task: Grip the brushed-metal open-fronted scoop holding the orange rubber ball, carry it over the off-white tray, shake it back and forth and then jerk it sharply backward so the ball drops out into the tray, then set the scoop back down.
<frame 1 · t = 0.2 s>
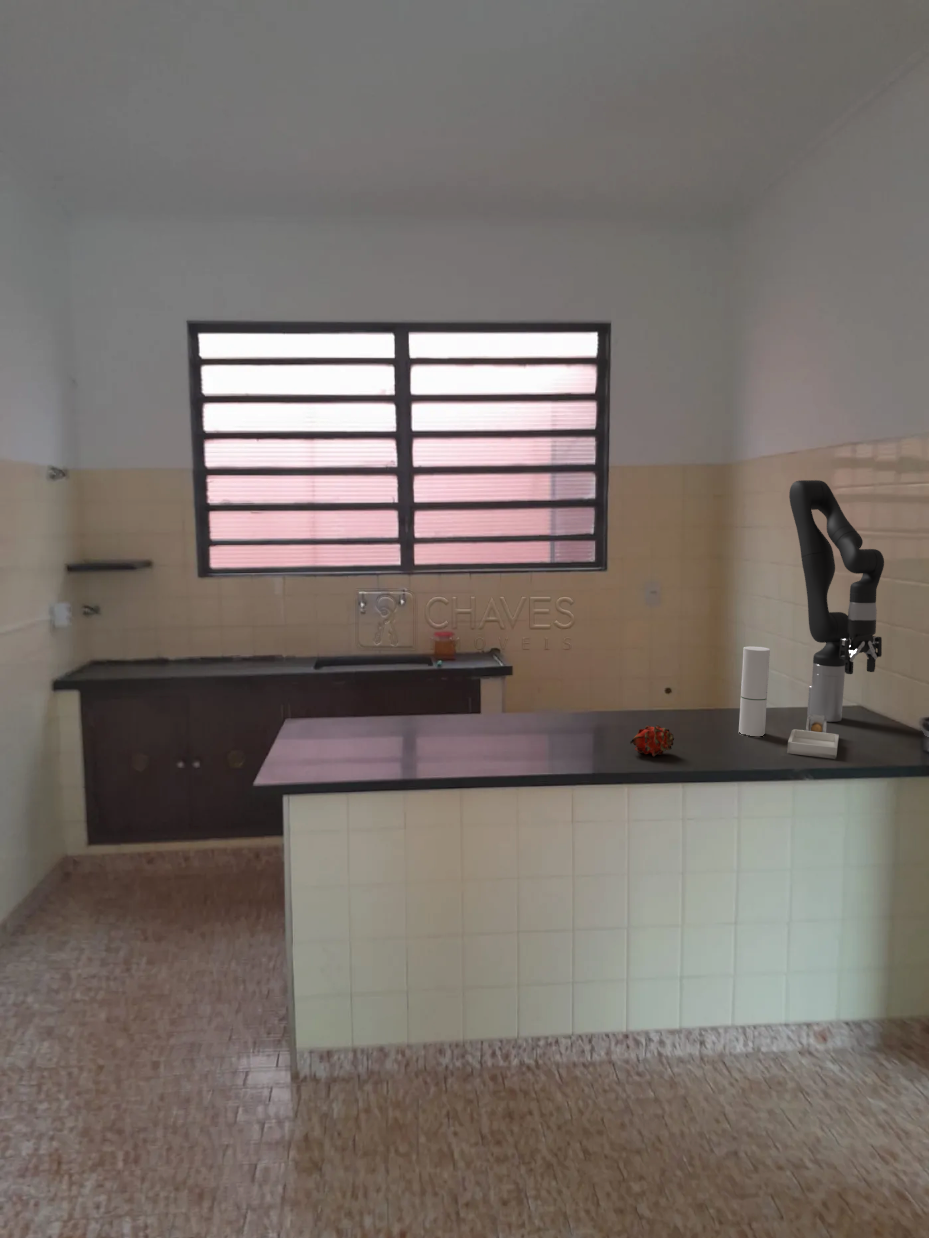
hand: (859, 672, 253), 17 cm above the countertop, tool pointing down, fingers open, 8 cm apart
cylindrical container: (751, 734, 249), on the countertop
tray: (813, 748, 235), on the countertop
scoop: (815, 738, 246), on the countertop, touching ball
ball: (816, 729, 248), point 2 cm above the countertop, touching scoop
dragon fruit: (651, 755, 228), on the countertop
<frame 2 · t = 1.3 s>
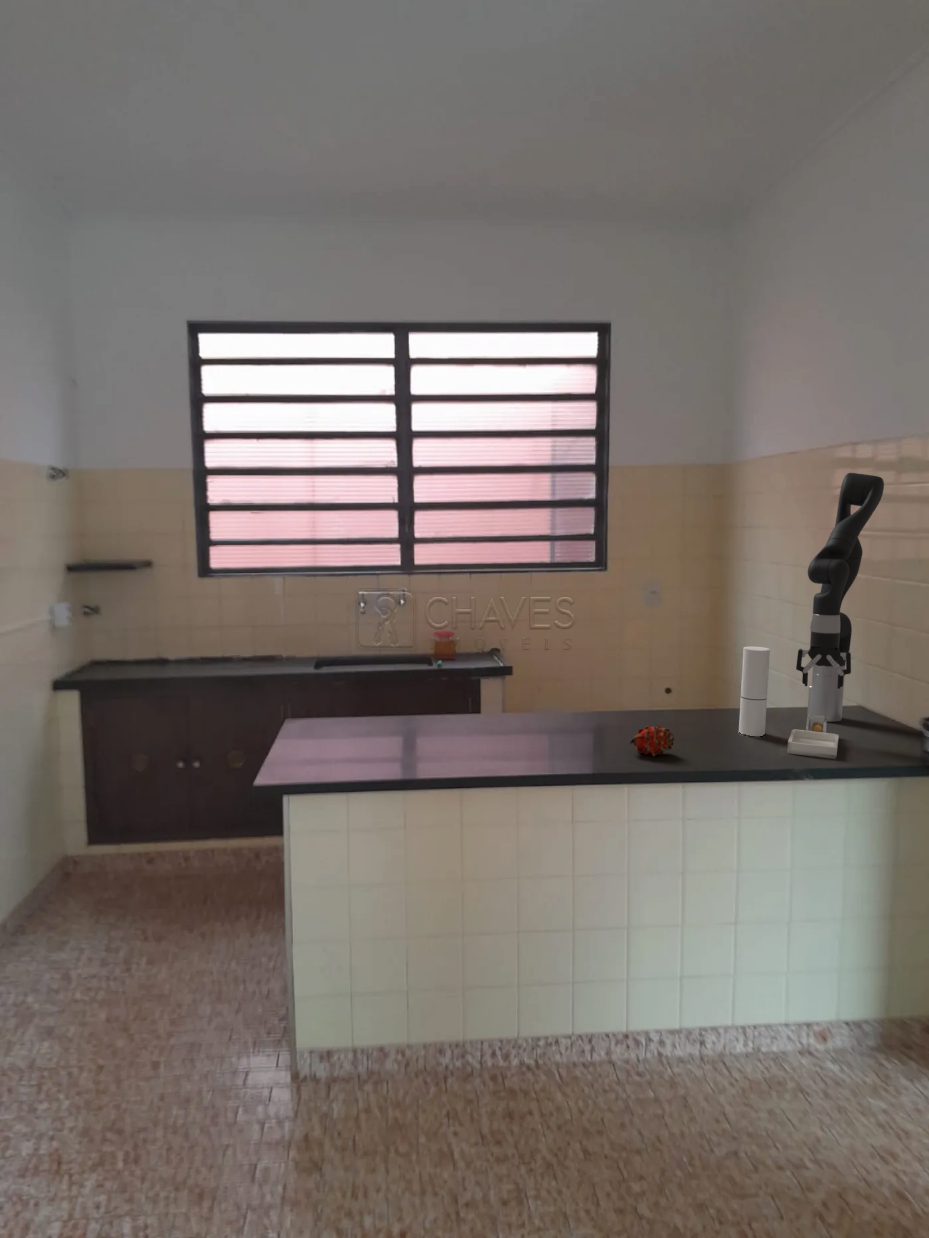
hand: (822, 687, 244), 15 cm above the countertop, tool pointing down, fingers open, 8 cm apart
ball: (817, 729, 247), point 2 cm above the countertop, tilted 7°, touching scoop
everything else where it was.
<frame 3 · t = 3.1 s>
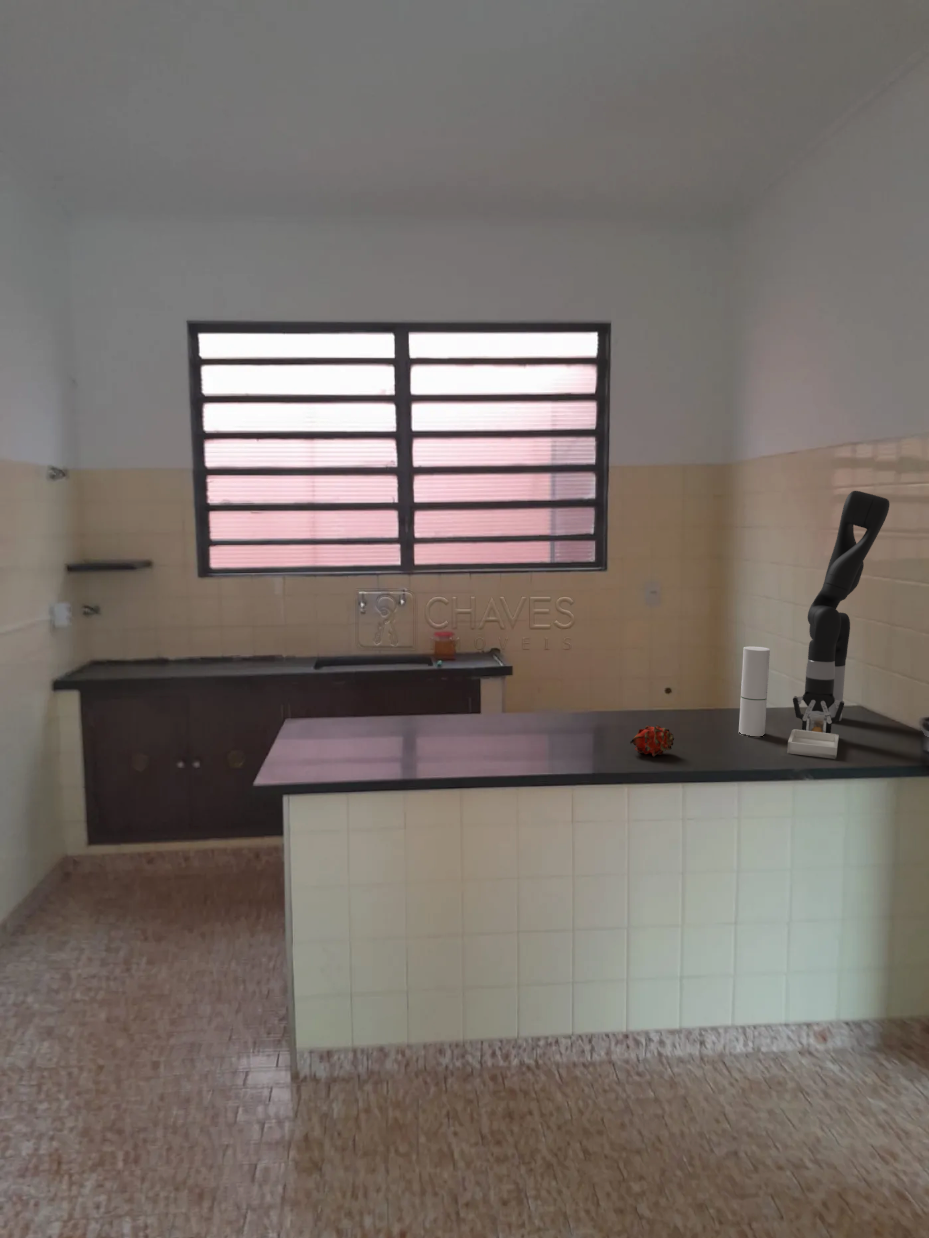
hand: (816, 734, 246), 1 cm above the countertop, tool pointing down, fingers closed on scoop, 5 cm apart
scoop: (815, 737, 246), on the countertop, touching ball, gripper
ball: (817, 731, 244), point 2 cm above the countertop, tilted 123°, touching scoop
everything else where it was.
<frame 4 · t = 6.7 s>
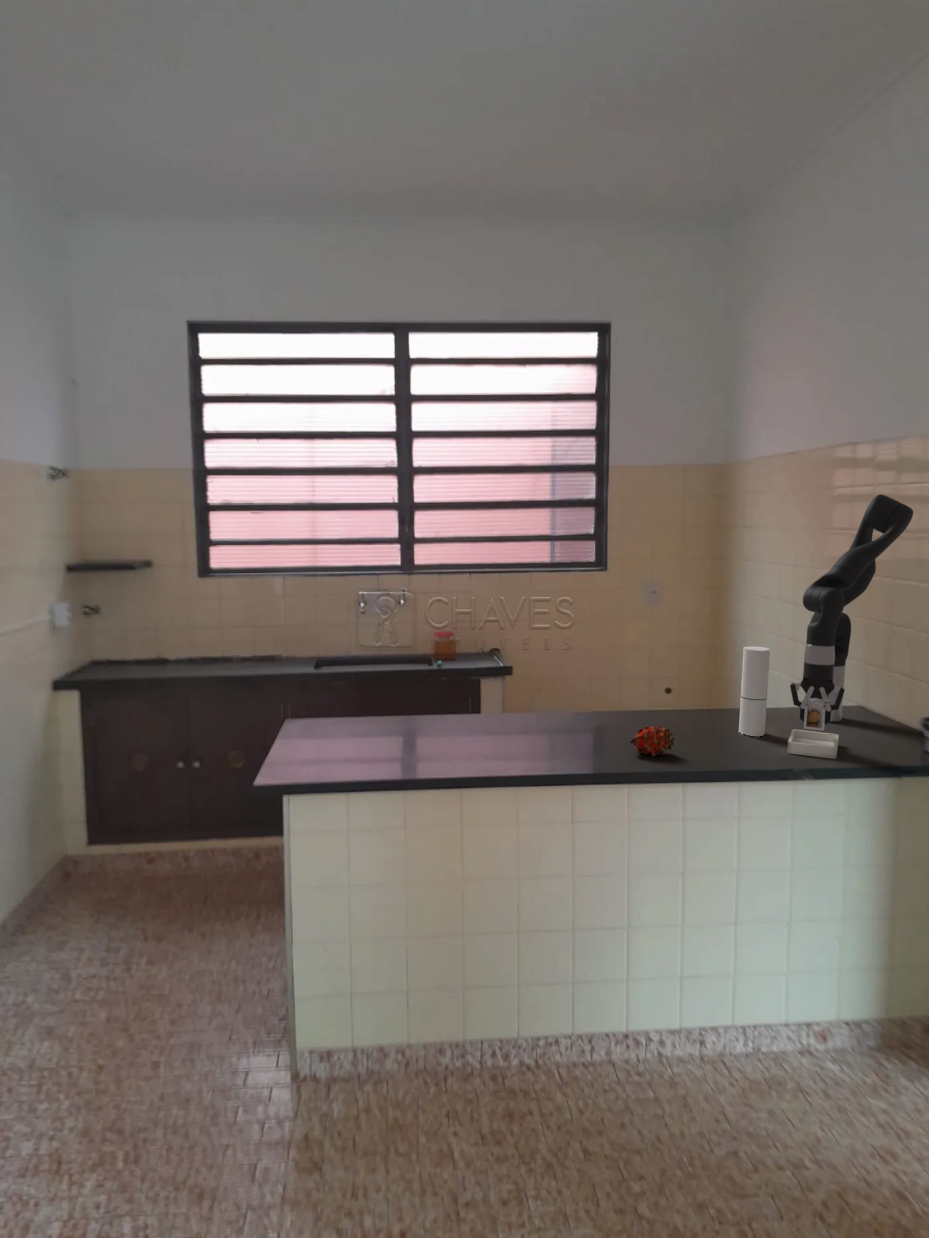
hand: (814, 722, 234), 7 cm above the countertop, tool pointing down, fingers closed on scoop, 5 cm apart
scoop: (814, 726, 234), point 6 cm above the countertop, touching ball, gripper
ball: (813, 717, 235), point 8 cm above the countertop, tilted 18°, touching scoop
everything else where it was.
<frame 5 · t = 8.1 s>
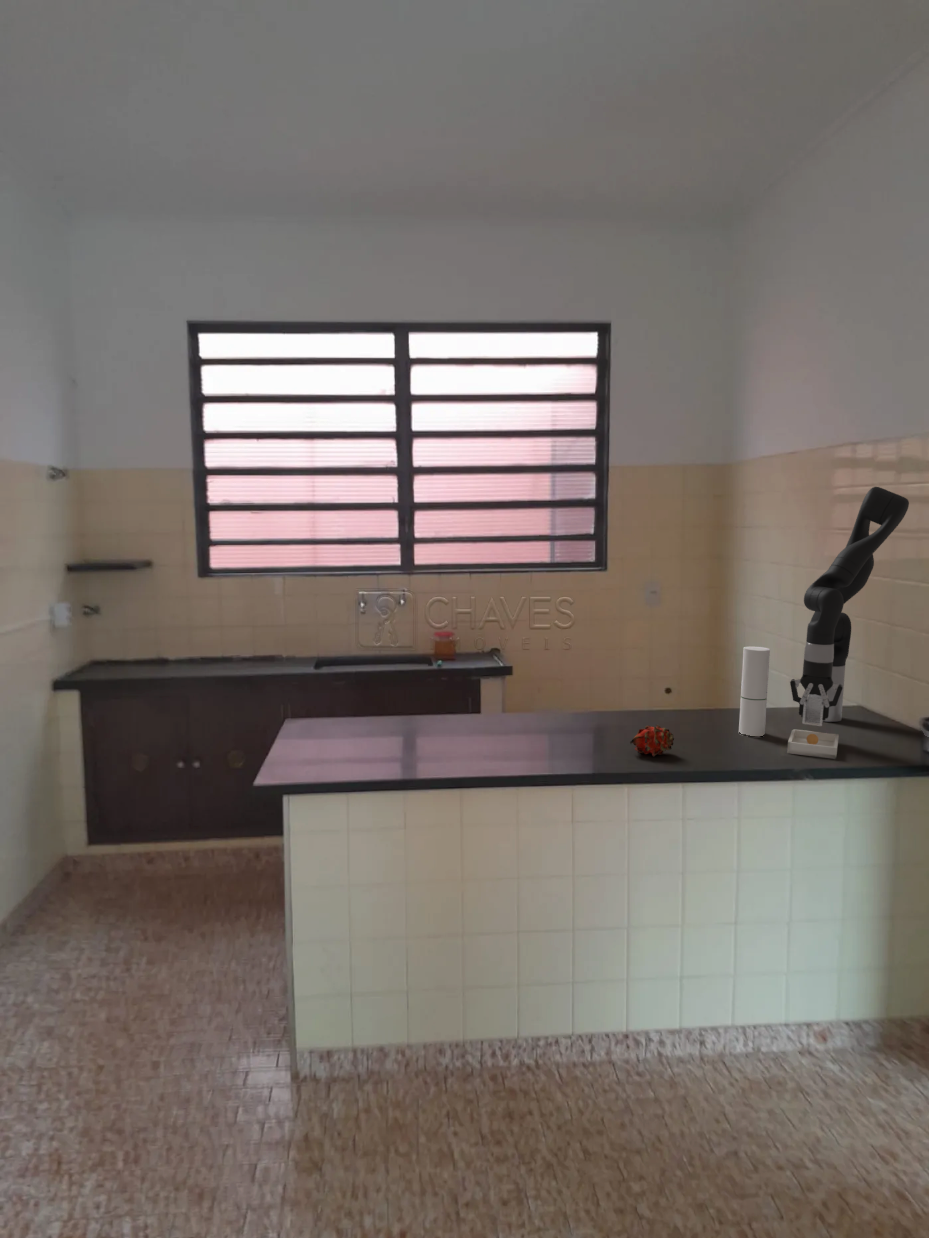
hand: (813, 717, 242), 7 cm above the countertop, tool pointing down, fingers closed on scoop, 5 cm apart
scoop: (813, 721, 242), point 6 cm above the countertop, touching gripper
ball: (812, 739, 235), point 2 cm above the countertop, touching tray
everything else where it was.
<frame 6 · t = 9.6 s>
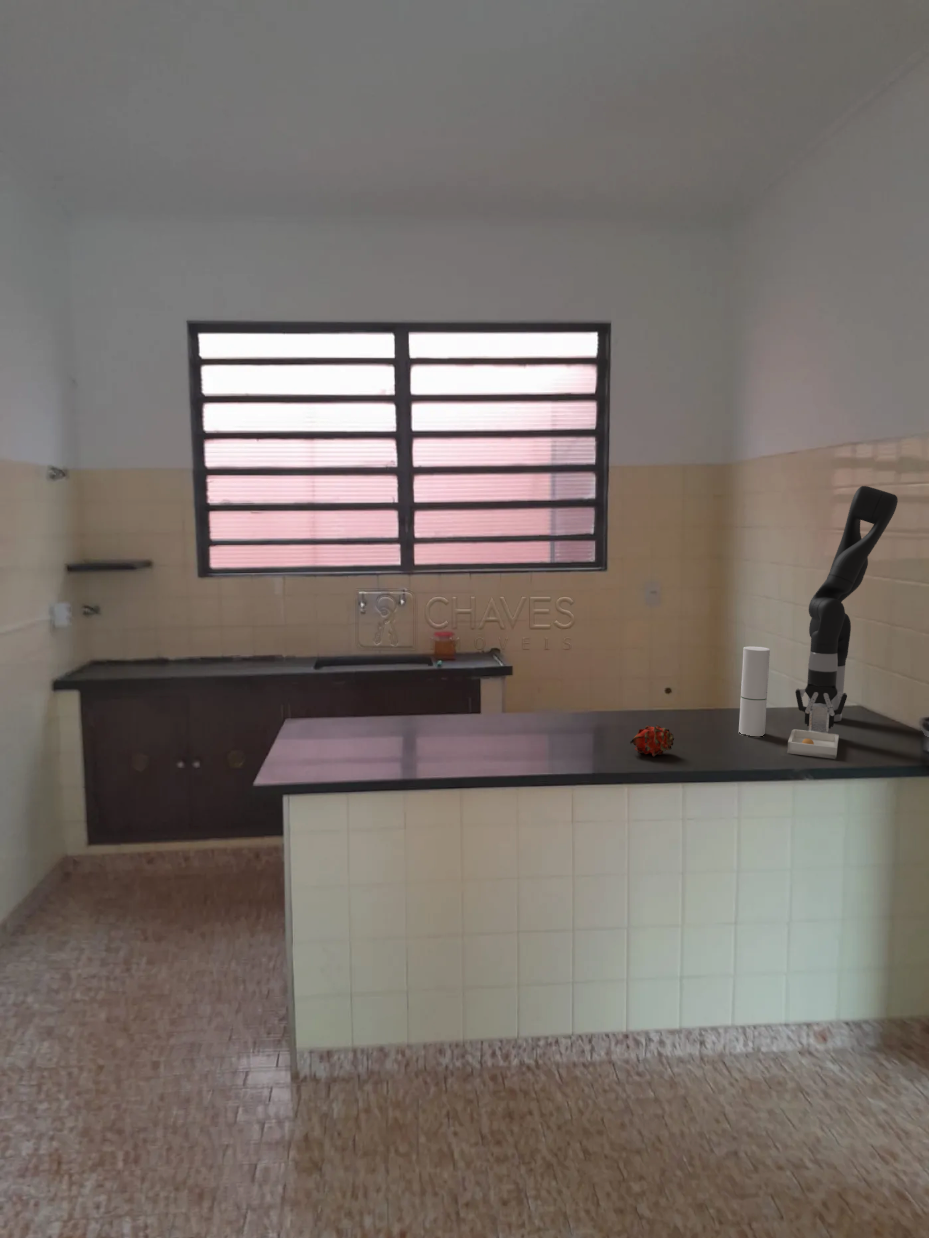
hand: (818, 726, 245), 3 cm above the countertop, tool pointing down, fingers closed on scoop, 5 cm apart
scoop: (818, 730, 245), point 2 cm above the countertop, touching gripper
ball: (807, 744, 230), point 2 cm above the countertop, tilted 145°, touching tray
everything else where it was.
when the fingers open (2 cm above the countertop, at t = 10.2 s): scoop drops 2 cm, on the countertop.
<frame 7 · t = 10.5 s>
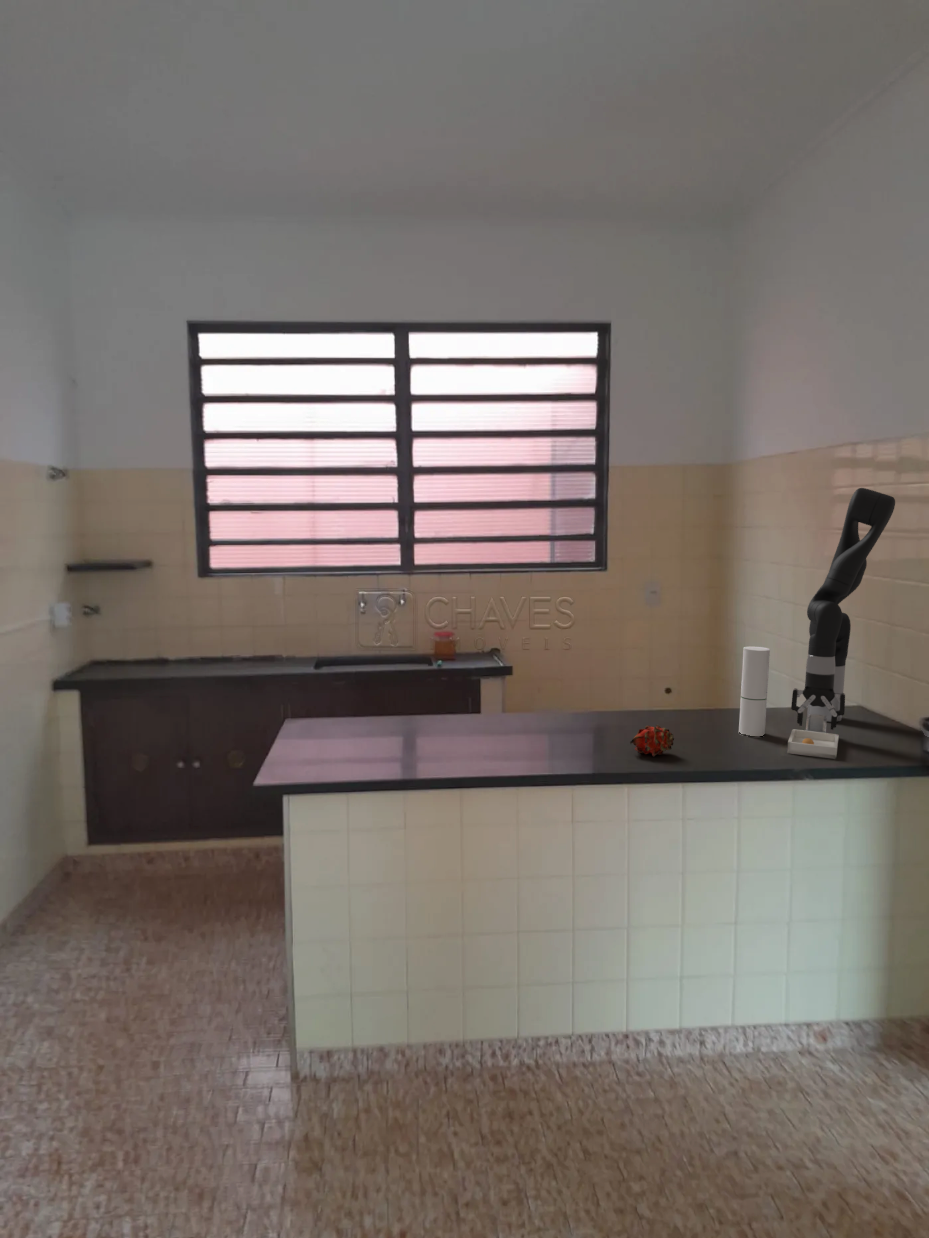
hand: (816, 727, 246), 3 cm above the countertop, tool pointing down, fingers open, 8 cm apart
scoop: (815, 738, 246), on the countertop
ball: (807, 743, 230), point 2 cm above the countertop, tilted 158°, touching tray
everything else where it was.
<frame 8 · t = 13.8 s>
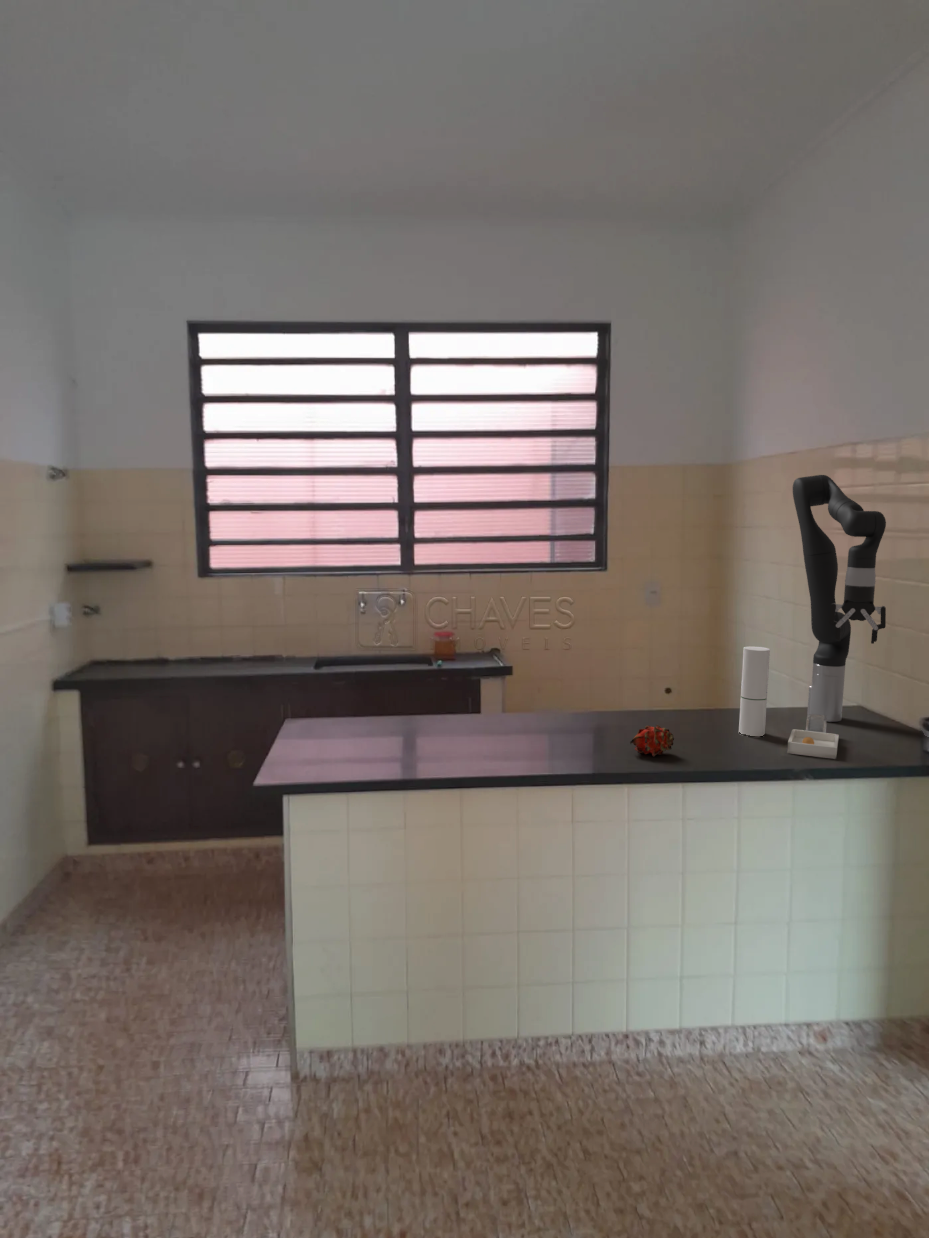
hand: (855, 642, 240), 28 cm above the countertop, tool pointing down, fingers open, 8 cm apart
ball: (808, 742, 232), point 2 cm above the countertop, tilted 155°, touching tray
everything else where it was.
at the end: ball inside the target area on the tray (3.7 cm from its centre), point 2.5 cm above the tray's base; scoop touching countertop; scoop tilted 0° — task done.
